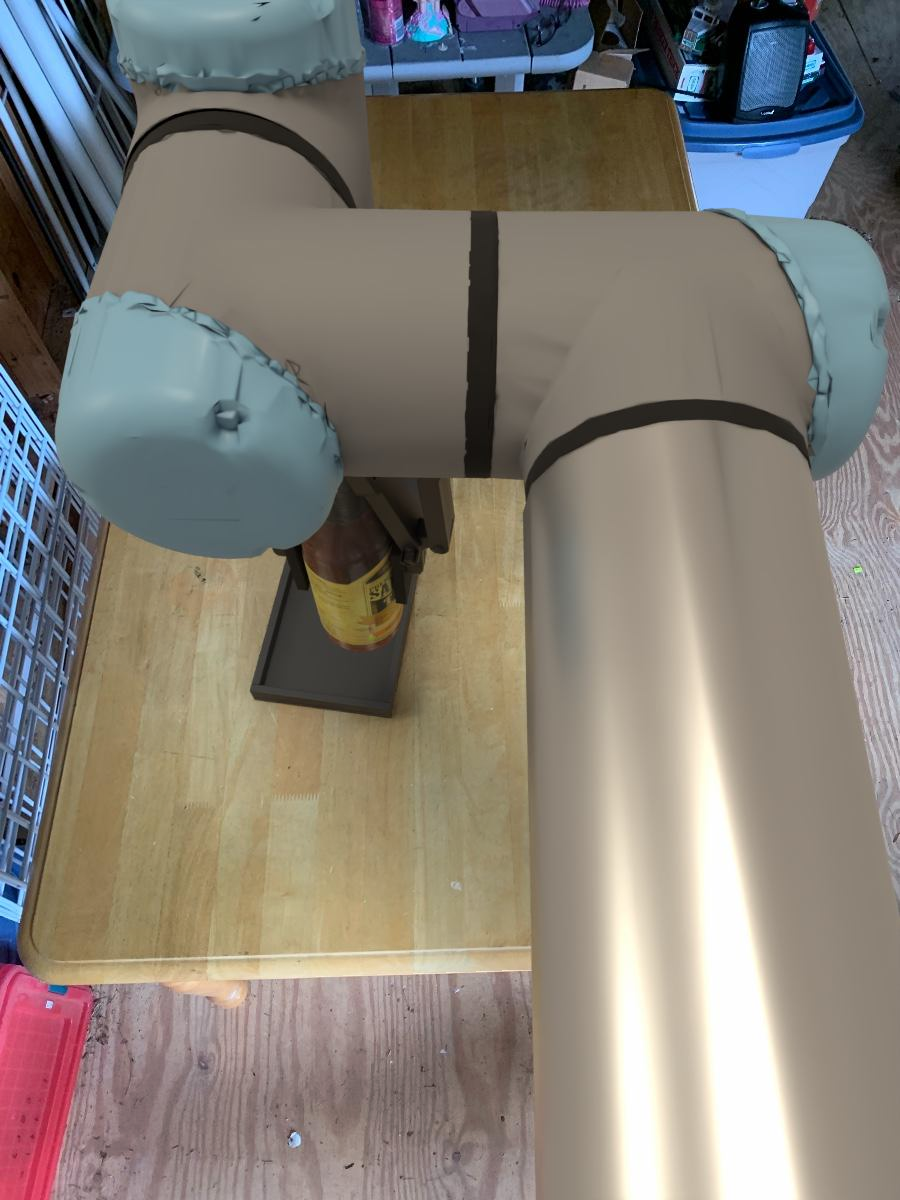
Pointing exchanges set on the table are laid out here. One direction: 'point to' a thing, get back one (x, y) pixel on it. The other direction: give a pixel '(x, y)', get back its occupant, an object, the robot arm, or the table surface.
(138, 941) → the table surface
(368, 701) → the tray
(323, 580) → the sauce bottle
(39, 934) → the table surface
